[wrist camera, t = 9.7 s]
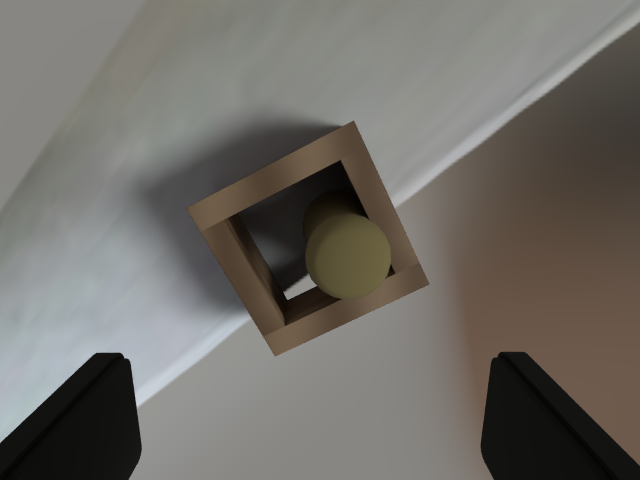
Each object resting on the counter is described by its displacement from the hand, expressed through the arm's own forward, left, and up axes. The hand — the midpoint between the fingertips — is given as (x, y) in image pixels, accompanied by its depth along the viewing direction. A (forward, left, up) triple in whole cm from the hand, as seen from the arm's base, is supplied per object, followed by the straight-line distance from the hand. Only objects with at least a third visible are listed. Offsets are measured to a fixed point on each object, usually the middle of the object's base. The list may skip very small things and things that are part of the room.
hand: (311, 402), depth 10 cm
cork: (-2, +1, -23) cm, 23 cm away
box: (0, 0, -23) cm, 23 cm away
